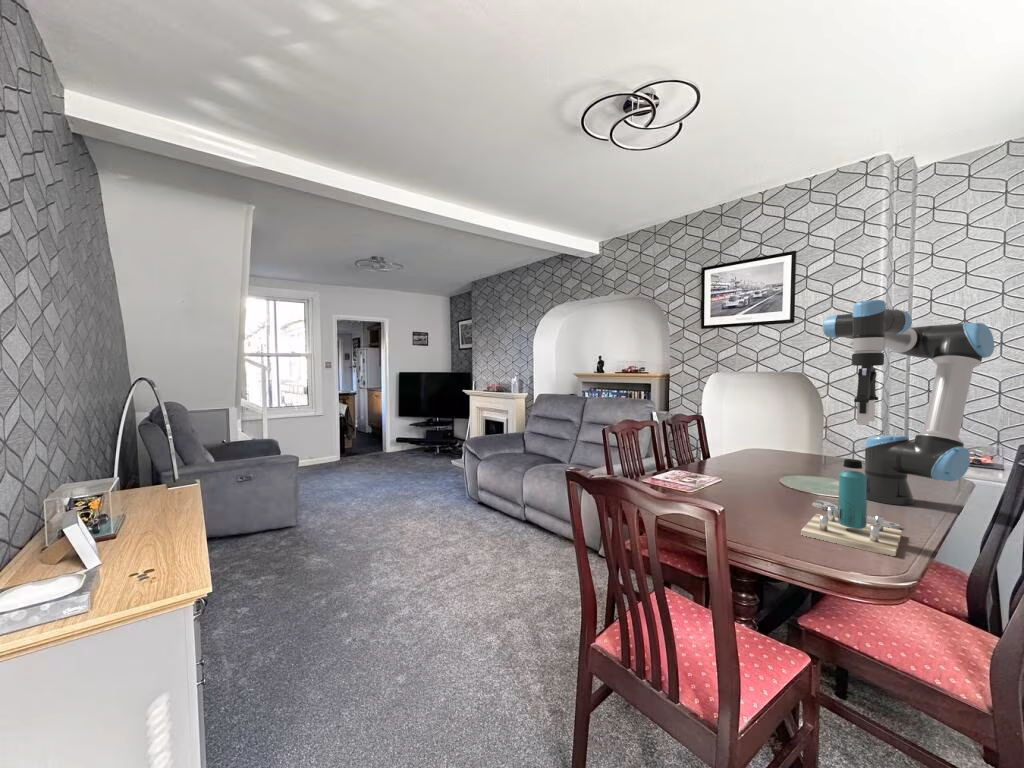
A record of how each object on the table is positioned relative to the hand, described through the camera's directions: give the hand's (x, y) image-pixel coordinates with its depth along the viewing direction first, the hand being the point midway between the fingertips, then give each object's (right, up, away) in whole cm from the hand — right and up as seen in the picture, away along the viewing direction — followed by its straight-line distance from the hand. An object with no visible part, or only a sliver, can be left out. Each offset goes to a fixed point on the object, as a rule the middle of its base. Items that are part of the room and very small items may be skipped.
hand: (865, 423), depth 131 cm
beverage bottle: (-11, -30, -9) cm, 33 cm away
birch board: (-11, -31, -9) cm, 34 cm away
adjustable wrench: (+2, -31, +8) cm, 32 cm away
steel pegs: (-11, -30, -9) cm, 33 cm away
